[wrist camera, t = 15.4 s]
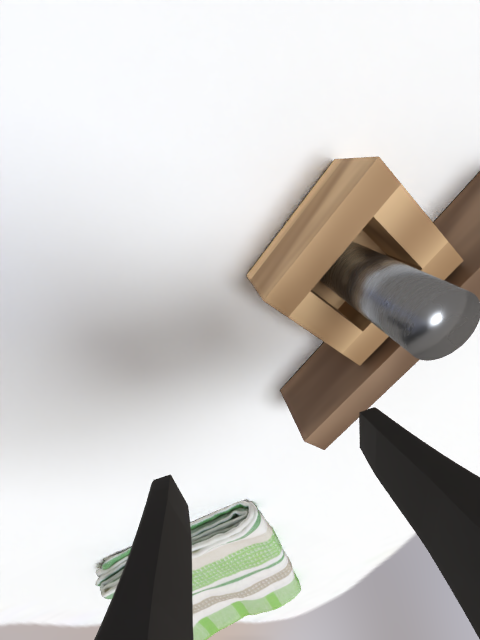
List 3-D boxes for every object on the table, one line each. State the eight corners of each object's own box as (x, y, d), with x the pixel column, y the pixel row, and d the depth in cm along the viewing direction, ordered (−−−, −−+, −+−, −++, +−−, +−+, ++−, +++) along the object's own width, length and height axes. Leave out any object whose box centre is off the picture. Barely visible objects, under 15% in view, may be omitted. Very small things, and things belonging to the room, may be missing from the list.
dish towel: (252, 490, 30) (261, 527, 26) (301, 576, 41) (312, 609, 38) (94, 555, 29) (84, 600, 26) (187, 624, 41) (189, 661, 37)
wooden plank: (279, 390, 23) (304, 441, 19) (484, 166, 18) (582, 165, 14) (297, 399, 24) (324, 450, 20) (497, 187, 19) (594, 193, 15)
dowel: (310, 284, 18) (393, 358, 11) (326, 236, 17) (430, 284, 10) (352, 290, 19) (454, 362, 12) (370, 243, 18) (496, 294, 11)
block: (246, 275, 18) (263, 300, 15) (334, 159, 16) (378, 156, 13) (329, 333, 21) (359, 365, 18) (411, 244, 19) (463, 260, 16)
